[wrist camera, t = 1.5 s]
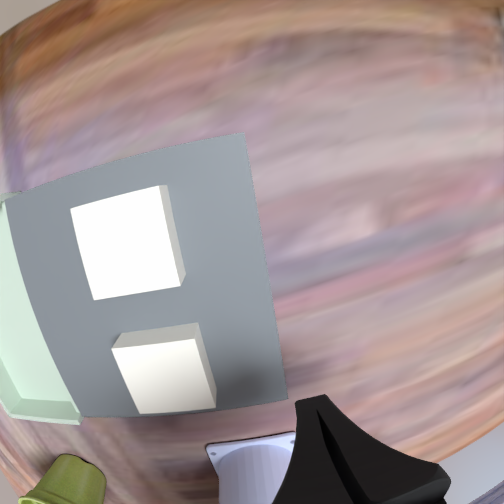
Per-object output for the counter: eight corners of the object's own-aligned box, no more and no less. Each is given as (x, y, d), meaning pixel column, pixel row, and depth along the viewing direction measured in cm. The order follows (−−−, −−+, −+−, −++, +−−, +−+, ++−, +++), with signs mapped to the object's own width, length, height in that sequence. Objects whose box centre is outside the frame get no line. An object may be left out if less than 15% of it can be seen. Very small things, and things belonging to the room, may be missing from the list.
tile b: (186, 274, 17) (180, 286, 15) (106, 288, 17) (93, 300, 15) (167, 184, 16) (158, 185, 14) (86, 205, 16) (70, 208, 14)
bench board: (282, 378, 22) (288, 398, 20) (92, 398, 22) (82, 416, 19) (242, 138, 18) (243, 132, 16) (24, 196, 18) (4, 199, 15)
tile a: (216, 388, 19) (215, 407, 17) (146, 395, 19) (140, 413, 17) (198, 322, 18) (194, 338, 16) (121, 333, 18) (111, 348, 16)
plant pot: (30, 441, 23) (1, 491, 14) (89, 442, 23) (62, 506, 14) (76, 490, 25) (58, 539, 17) (135, 493, 25) (123, 551, 17)
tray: (91, 403, 22) (80, 424, 19) (22, 399, 21) (9, 417, 19) (20, 191, 18) (-4, 194, 15) (-43, 220, 17) (-65, 225, 14)
